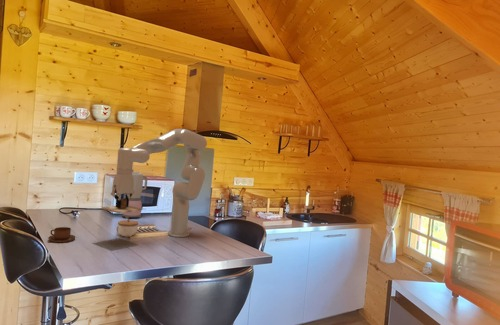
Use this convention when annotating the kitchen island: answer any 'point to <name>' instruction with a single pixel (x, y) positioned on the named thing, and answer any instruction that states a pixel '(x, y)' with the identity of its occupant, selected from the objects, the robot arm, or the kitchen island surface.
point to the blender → (136, 195)
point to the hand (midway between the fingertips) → (122, 206)
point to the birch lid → (122, 208)
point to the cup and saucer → (61, 235)
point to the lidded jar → (127, 227)
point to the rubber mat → (115, 244)
